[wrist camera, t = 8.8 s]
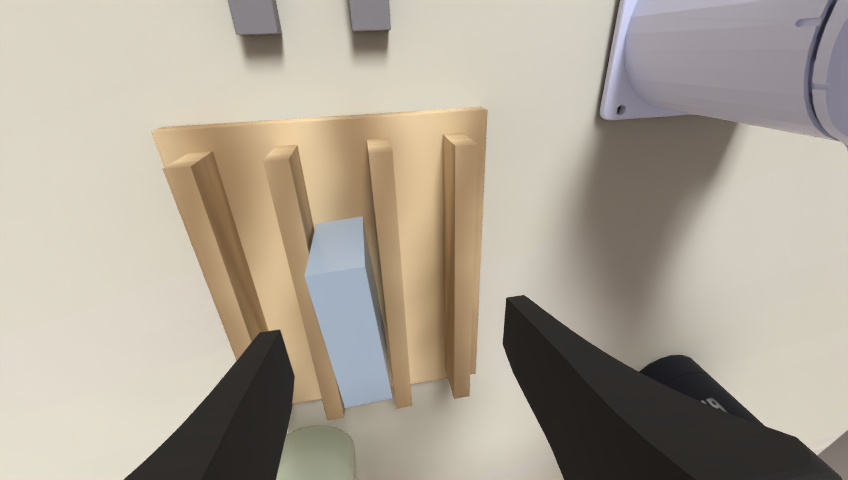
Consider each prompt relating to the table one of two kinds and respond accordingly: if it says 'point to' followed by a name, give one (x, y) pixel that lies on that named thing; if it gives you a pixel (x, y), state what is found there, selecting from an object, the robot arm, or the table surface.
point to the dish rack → (336, 200)
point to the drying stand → (260, 17)
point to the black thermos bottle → (695, 384)
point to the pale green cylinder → (317, 455)
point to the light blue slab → (349, 310)
